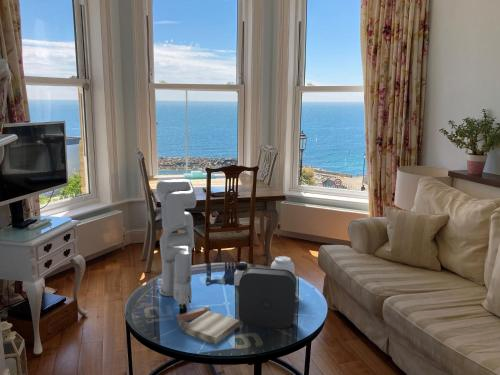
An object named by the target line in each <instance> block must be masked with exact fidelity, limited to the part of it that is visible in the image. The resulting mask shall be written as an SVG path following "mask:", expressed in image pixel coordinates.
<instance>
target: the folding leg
mask: <svg viewBox="0 0 500 375" xmlns="http://www.w3.org/2000/svg"><path fill="white" fill-rule="evenodd" d="M207 311H211V307H210V306H209V305H204V306H203V307H200V308H197V309H194V310H190V311H187V312H186V313H183V314H176V322H177V323H178V324H179V322H180V321H181V320H183V321H186V322H189V321H193V320H195V319H196V318H198V317H200V316H201V315H203V314H204V313H206V312H207Z"/></svg>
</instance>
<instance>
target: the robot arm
mask: <svg viewBox="0 0 500 375" xmlns="http://www.w3.org/2000/svg"><path fill="white" fill-rule="evenodd" d="M193 186H194V185H193V183H192V182H191V181H190V180H189V179H165V180H160V181H158V182H157V183H156V193H157V197H158V199H159V202H160V206H161V208H160V209H161V226H162V230H163V232H162V234H161V236H160V238H159V245H160V246H159V248H160V257H161V258H160V259H161V280H160V279H159V281H158V283H157V284H156V285H157V286H160V288H159V290H158V291H159V294H160V295H161V296H164V297H173V299H174V300H175V301H176V302H177V303H178V307H179V308H178V311H179V312H178V313H179V314H183V313H186V312H188V308H190V304H192V301H193V300H192V298H193V296H192V294H193V293H192V256H193V255H192V254H193V252H192V250H193V249H194V247H195V235H194V234H195V232H194V230H195V229H194V218H193V215H192V214H191V212H189V211H185V210H186V209H194V208H196V205H197V196H196V195H197V194H196V191H195V189H194V187H193ZM177 231H184V232H177ZM173 232H174V233H173ZM179 314H178V315H179Z"/></svg>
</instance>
